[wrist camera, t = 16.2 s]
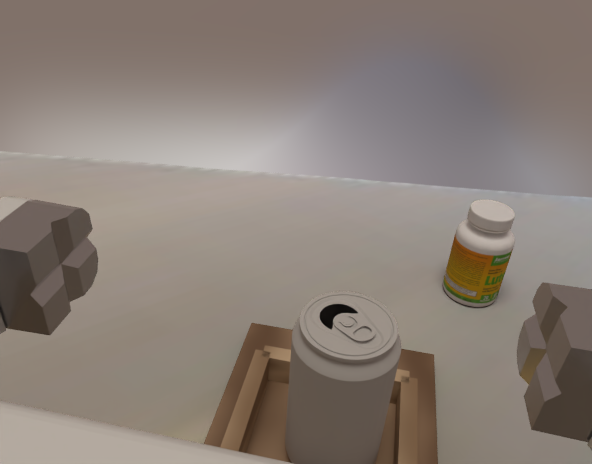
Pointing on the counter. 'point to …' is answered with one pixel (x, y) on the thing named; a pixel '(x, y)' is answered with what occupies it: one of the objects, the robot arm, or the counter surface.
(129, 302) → the counter surface
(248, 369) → the tray
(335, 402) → the beverage can
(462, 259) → the supplement bottle
